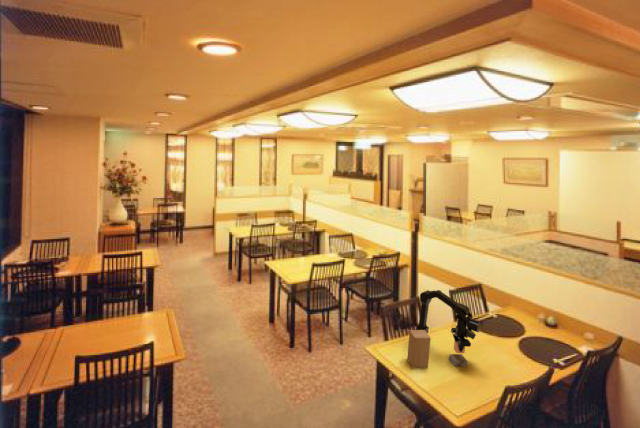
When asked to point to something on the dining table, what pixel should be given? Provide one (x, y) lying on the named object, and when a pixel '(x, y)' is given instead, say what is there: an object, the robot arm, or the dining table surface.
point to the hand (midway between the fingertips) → (459, 349)
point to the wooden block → (418, 348)
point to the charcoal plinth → (458, 360)
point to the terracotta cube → (458, 348)
